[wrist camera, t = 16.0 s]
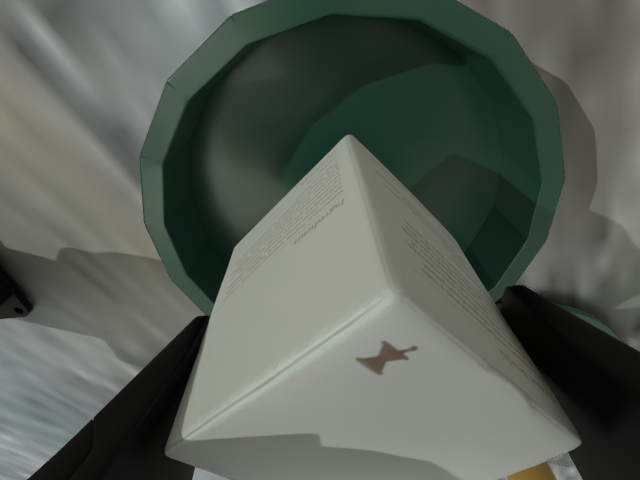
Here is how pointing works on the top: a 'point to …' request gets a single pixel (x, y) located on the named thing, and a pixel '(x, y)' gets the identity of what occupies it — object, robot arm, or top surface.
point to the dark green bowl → (353, 129)
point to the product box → (361, 348)
